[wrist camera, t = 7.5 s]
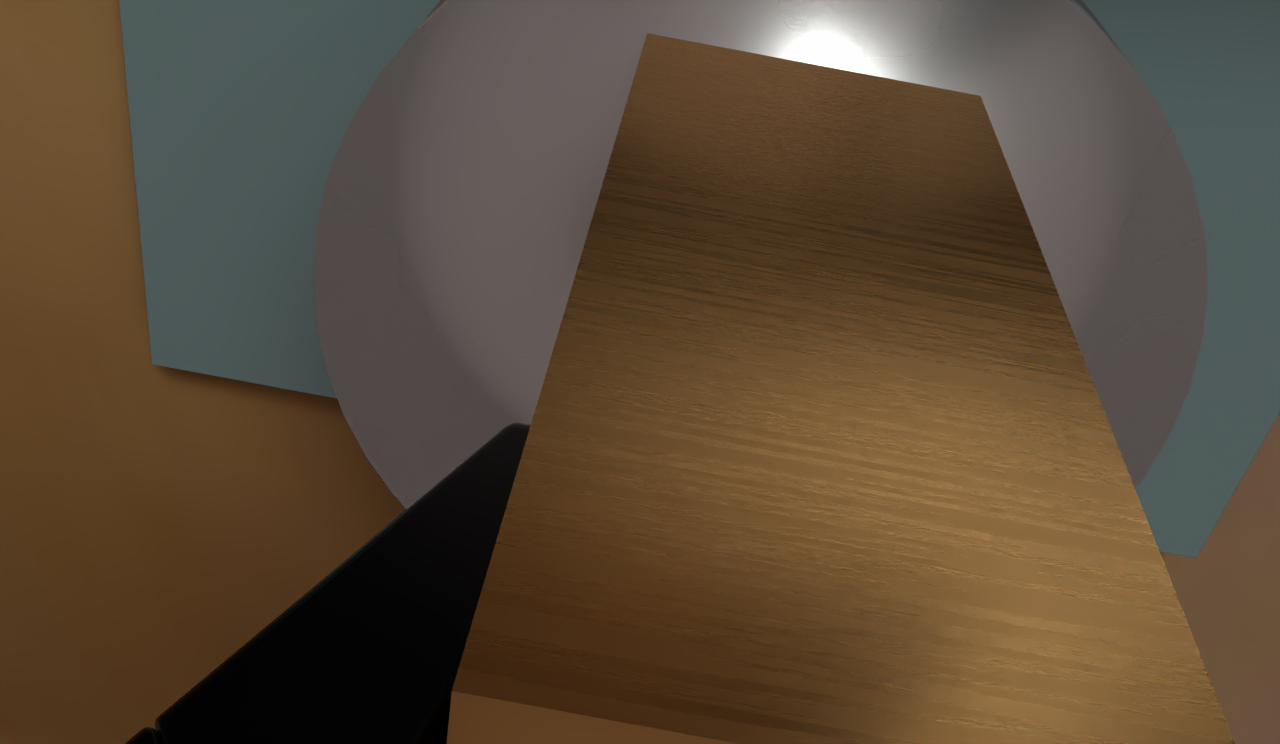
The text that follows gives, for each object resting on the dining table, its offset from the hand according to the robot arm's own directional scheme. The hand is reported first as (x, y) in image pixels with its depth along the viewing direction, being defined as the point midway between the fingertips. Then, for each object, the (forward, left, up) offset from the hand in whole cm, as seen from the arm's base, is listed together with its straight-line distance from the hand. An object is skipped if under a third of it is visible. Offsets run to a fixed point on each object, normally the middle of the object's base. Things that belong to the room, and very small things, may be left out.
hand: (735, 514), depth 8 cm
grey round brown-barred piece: (0, 0, -5) cm, 5 cm away
